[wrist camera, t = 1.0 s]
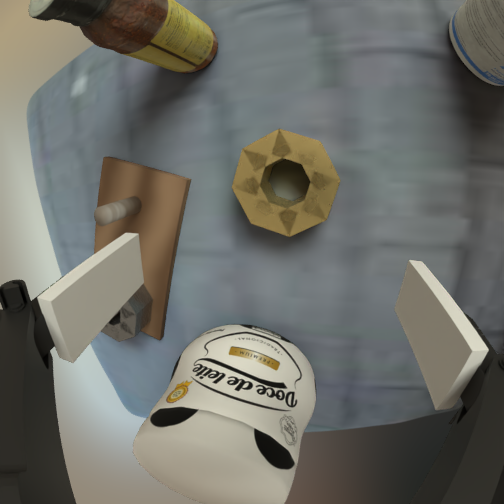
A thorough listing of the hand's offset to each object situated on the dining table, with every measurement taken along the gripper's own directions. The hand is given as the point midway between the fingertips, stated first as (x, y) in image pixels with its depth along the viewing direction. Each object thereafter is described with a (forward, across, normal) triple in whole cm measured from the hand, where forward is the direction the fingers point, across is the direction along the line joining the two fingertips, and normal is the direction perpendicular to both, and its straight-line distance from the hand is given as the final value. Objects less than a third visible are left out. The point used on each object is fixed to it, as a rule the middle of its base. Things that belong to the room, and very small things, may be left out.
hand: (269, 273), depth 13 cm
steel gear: (+17, +20, +15) cm, 30 cm away
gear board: (+18, +18, +8) cm, 27 cm away
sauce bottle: (+18, +11, -16) cm, 26 cm away
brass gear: (+16, 0, -2) cm, 17 cm away
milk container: (+16, +2, +22) cm, 27 cm away
